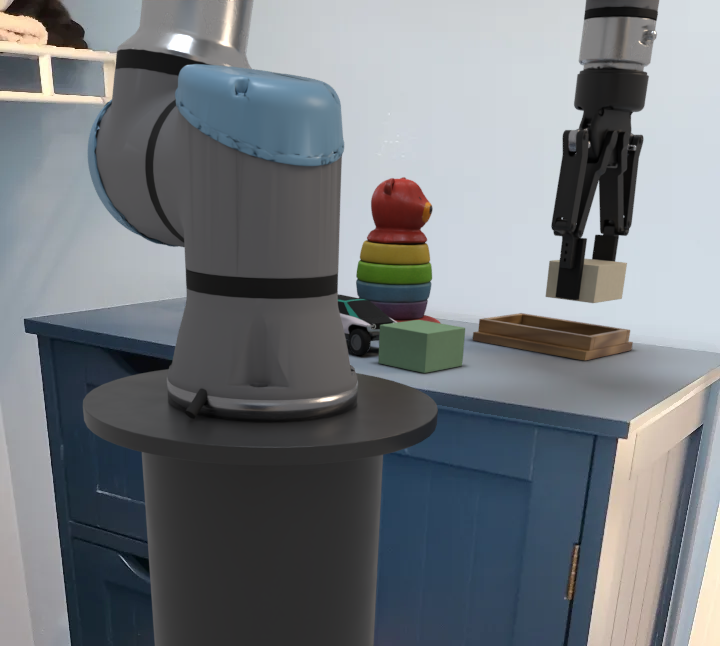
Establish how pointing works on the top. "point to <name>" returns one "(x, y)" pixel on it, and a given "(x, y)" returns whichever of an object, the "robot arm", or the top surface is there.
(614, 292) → the beige block
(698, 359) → the top surface
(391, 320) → the toy car
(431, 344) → the sage block
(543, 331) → the frame
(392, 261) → the stacking bear
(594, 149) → the robot arm
